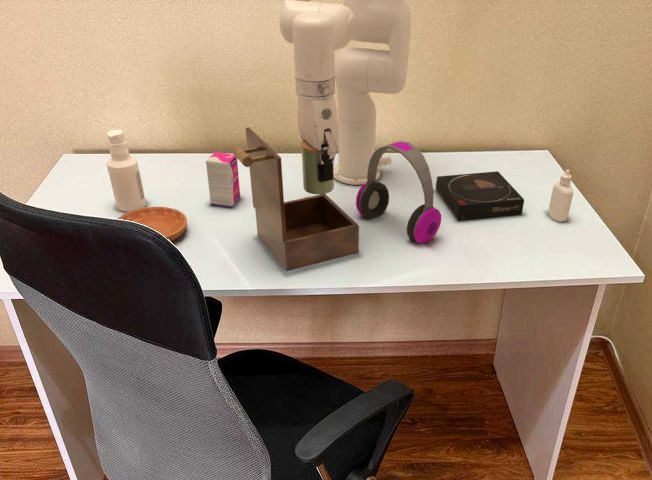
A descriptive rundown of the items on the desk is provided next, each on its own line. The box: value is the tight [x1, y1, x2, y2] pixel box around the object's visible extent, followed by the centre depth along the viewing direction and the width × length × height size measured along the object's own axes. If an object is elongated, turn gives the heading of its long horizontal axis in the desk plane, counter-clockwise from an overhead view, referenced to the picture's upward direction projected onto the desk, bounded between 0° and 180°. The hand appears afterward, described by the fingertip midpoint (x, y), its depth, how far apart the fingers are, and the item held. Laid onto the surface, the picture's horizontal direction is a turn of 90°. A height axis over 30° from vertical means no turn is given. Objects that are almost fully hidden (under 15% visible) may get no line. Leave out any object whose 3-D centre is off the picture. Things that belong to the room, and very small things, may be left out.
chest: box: [254, 193, 360, 272], centre depth 144 cm, size 17×17×7 cm
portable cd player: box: [435, 170, 525, 222], centre depth 164 cm, size 16×17×4 cm
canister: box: [300, 139, 335, 195], centre depth 136 cm, size 7×7×10 cm
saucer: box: [117, 206, 188, 243], centre depth 148 cm, size 16×16×3 cm
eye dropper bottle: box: [547, 169, 574, 223], centre depth 156 cm, size 4×6×12 cm
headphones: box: [355, 140, 442, 245], centre depth 147 cm, size 21×9×20 cm, turn 45°
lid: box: [232, 126, 286, 241], centre depth 131 cm, size 17×17×6 cm
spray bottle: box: [106, 129, 147, 212], centre depth 153 cm, size 7×7×18 cm
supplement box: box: [205, 151, 241, 209], centre depth 158 cm, size 6×6×12 cm
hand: (318, 172), depth 137 cm, fingers closed on canister, 6 cm apart
